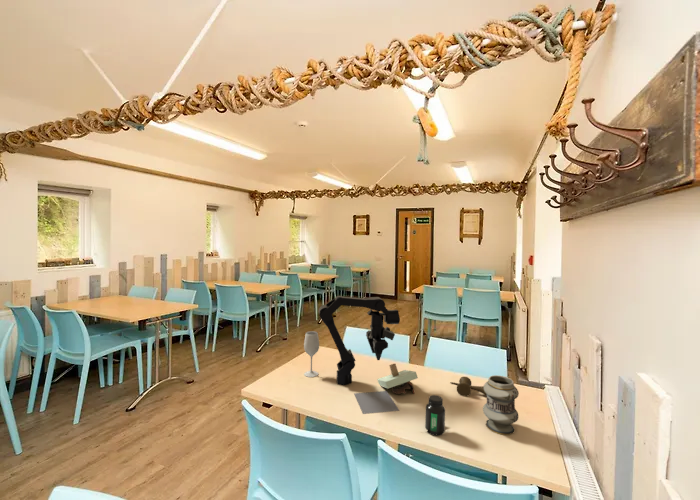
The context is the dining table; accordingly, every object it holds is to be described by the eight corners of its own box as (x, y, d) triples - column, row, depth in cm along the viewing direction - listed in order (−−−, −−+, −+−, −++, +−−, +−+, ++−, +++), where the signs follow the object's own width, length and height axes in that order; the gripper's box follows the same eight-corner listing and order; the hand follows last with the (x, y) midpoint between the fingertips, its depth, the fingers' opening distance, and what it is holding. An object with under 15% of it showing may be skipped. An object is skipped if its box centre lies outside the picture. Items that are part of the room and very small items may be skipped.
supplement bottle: (436, 438, 115) (437, 404, 114) (421, 429, 120) (422, 396, 120) (448, 432, 119) (449, 399, 119) (433, 423, 124) (434, 391, 124)
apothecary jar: (482, 415, 131) (484, 370, 130) (516, 422, 126) (518, 376, 125) (482, 432, 119) (483, 383, 119) (519, 440, 115) (521, 389, 114)
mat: (362, 416, 128) (362, 413, 128) (353, 395, 145) (353, 393, 145) (399, 413, 131) (399, 410, 131) (386, 393, 148) (386, 390, 148)
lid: (387, 388, 140) (382, 369, 142) (379, 385, 156) (374, 368, 157) (417, 378, 143) (412, 360, 145) (406, 375, 159) (401, 359, 161)
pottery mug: (417, 400, 143) (410, 385, 141) (397, 407, 145) (390, 393, 143) (413, 381, 155) (406, 367, 153) (395, 388, 156) (388, 375, 154)
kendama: (496, 404, 141) (448, 393, 149) (496, 395, 150) (451, 385, 158) (497, 390, 141) (449, 380, 149) (497, 382, 149) (451, 372, 158)
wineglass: (321, 373, 168) (322, 332, 167) (312, 378, 161) (312, 336, 161) (310, 370, 172) (310, 330, 171) (300, 375, 165) (301, 333, 165)
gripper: (399, 329, 149) (398, 363, 150) (388, 319, 167) (386, 349, 168) (375, 329, 147) (374, 364, 148) (366, 319, 165) (365, 350, 166)
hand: (375, 356), depth 157 cm, fingers open, 9 cm apart
